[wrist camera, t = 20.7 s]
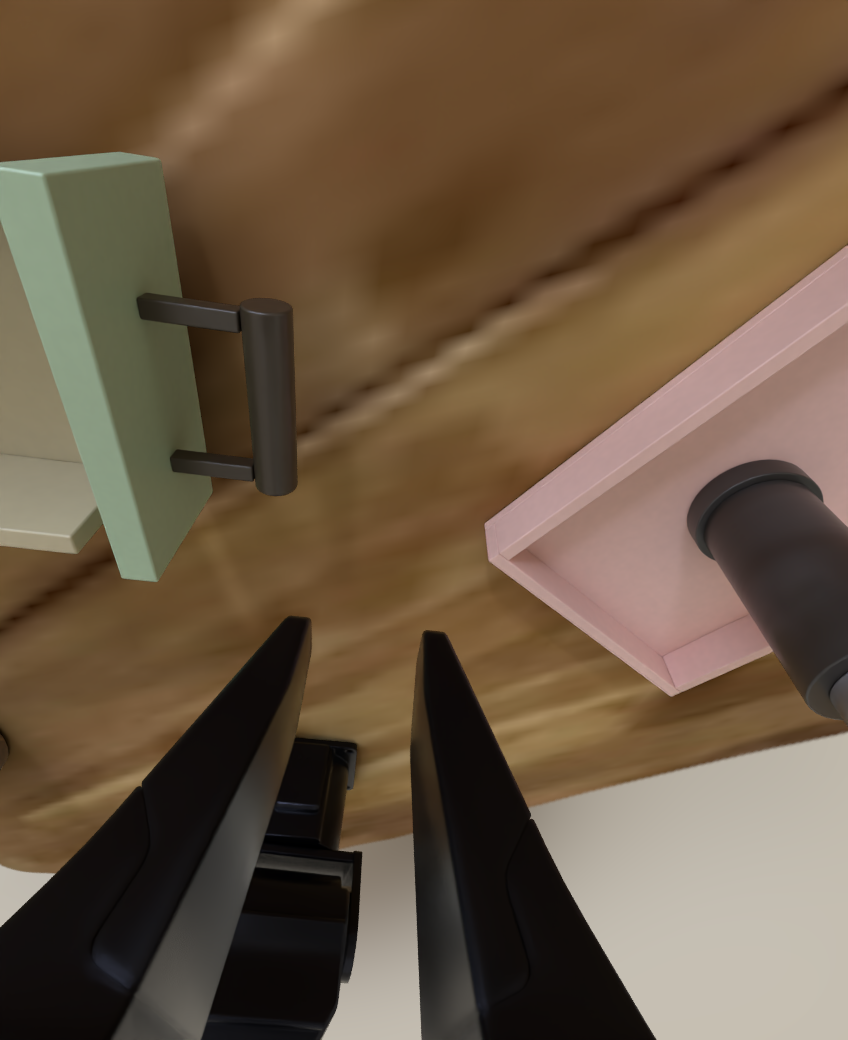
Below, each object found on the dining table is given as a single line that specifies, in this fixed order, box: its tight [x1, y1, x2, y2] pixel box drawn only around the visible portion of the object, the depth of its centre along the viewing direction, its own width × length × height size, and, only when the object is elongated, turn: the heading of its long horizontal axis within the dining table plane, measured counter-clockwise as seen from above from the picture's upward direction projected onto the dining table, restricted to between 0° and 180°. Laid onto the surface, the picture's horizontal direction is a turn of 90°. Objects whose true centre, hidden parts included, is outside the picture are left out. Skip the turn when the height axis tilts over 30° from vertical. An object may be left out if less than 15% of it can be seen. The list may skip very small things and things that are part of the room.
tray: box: [484, 245, 848, 697], centre depth 21 cm, size 17×14×2 cm
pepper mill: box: [687, 459, 848, 726], centre depth 17 cm, size 5×5×11 cm
